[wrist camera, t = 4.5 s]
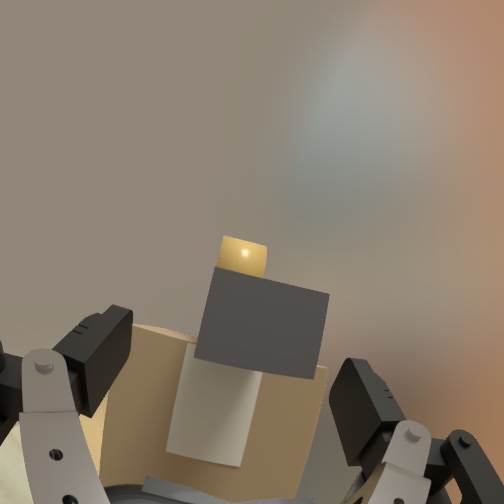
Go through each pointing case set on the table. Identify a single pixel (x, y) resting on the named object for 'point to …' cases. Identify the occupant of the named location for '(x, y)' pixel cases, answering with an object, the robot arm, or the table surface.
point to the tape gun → (259, 317)
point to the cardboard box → (207, 422)
